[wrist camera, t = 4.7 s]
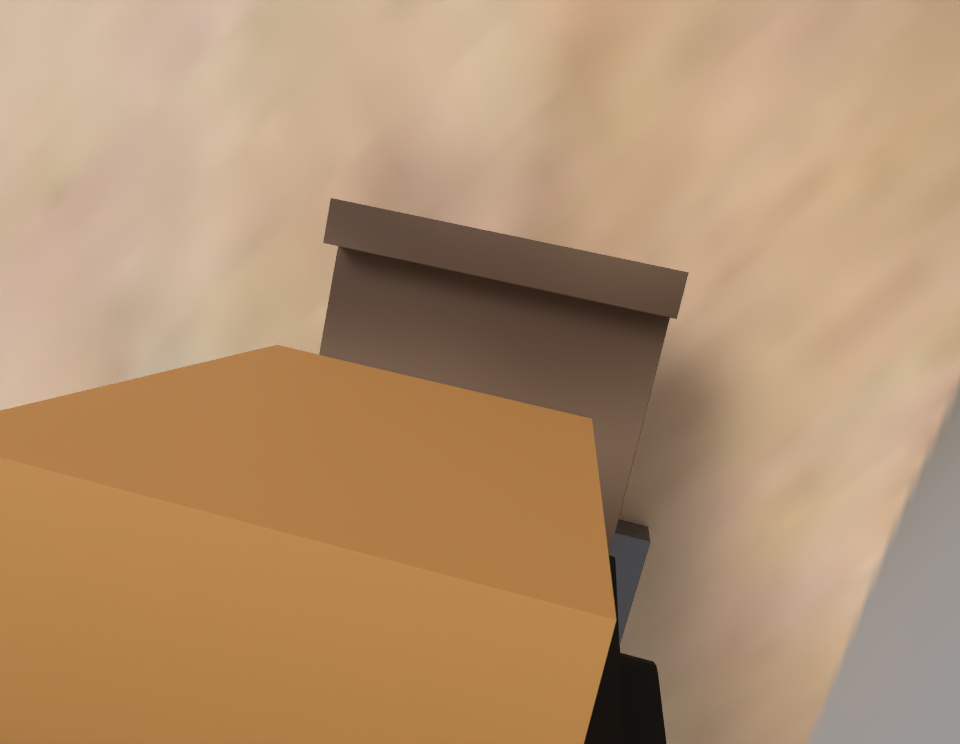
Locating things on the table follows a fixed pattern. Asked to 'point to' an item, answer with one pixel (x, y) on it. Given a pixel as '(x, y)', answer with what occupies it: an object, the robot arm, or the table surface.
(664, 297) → the beam
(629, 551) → the stand
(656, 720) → the robot arm
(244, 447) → the block
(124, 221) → the table surface
